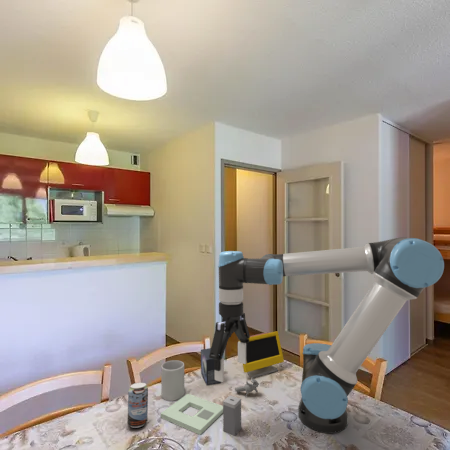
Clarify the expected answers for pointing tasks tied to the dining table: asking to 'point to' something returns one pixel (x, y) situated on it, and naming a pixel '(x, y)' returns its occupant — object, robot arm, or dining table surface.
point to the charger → (232, 415)
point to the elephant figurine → (248, 387)
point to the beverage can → (137, 405)
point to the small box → (208, 367)
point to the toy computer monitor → (263, 354)
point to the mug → (172, 380)
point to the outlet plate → (199, 420)
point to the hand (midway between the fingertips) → (231, 371)
